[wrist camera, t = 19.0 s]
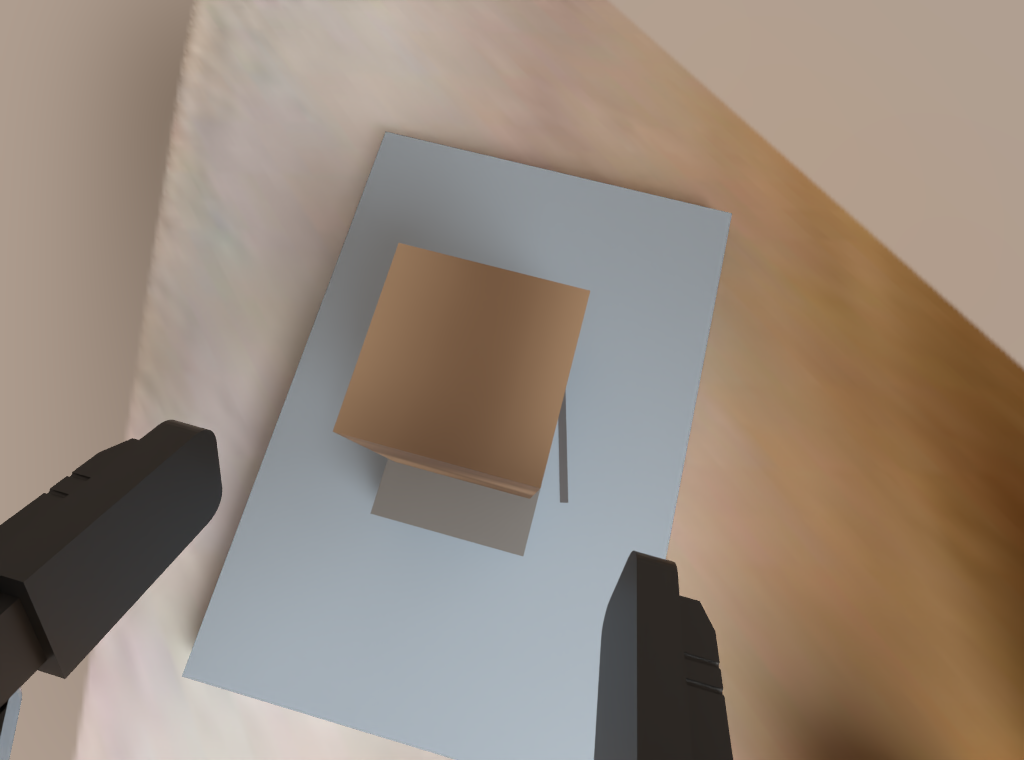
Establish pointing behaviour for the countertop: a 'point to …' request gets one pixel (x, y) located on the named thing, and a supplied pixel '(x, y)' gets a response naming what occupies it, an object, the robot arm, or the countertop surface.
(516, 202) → the board
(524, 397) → the block
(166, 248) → the countertop surface
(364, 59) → the countertop surface
